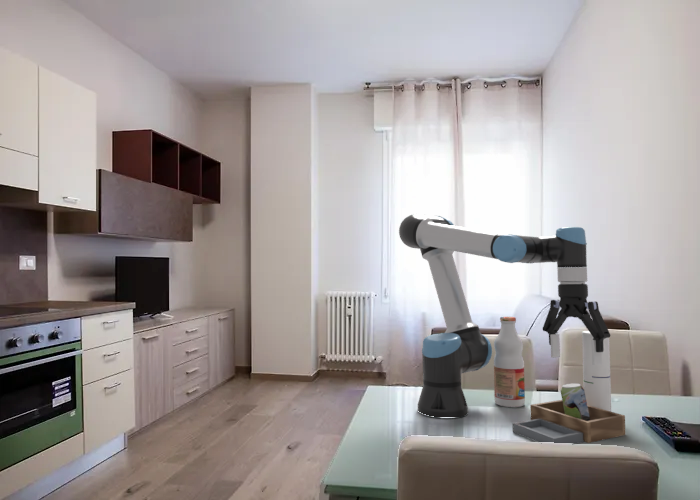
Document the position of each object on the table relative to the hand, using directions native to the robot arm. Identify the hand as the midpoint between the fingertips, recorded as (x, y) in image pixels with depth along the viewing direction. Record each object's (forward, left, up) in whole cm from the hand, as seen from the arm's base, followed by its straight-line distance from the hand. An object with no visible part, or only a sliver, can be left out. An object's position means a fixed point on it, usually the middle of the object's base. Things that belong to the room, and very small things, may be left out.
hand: (575, 360), depth 137 cm
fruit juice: (-28, +2, -19) cm, 33 cm away
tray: (+1, -13, -18) cm, 22 cm away
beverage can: (0, 0, -19) cm, 19 cm away
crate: (0, 0, -18) cm, 18 cm away
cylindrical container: (-4, +13, -19) cm, 23 cm away
